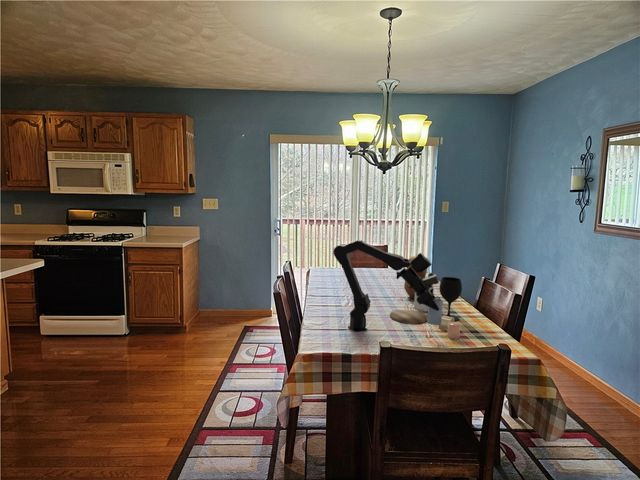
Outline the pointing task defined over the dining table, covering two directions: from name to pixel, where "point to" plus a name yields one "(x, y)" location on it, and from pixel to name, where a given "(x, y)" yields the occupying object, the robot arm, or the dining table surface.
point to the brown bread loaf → (408, 316)
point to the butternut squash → (407, 287)
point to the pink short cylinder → (453, 330)
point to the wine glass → (450, 292)
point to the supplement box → (420, 306)
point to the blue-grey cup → (435, 313)
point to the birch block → (445, 322)
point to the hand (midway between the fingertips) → (438, 308)
